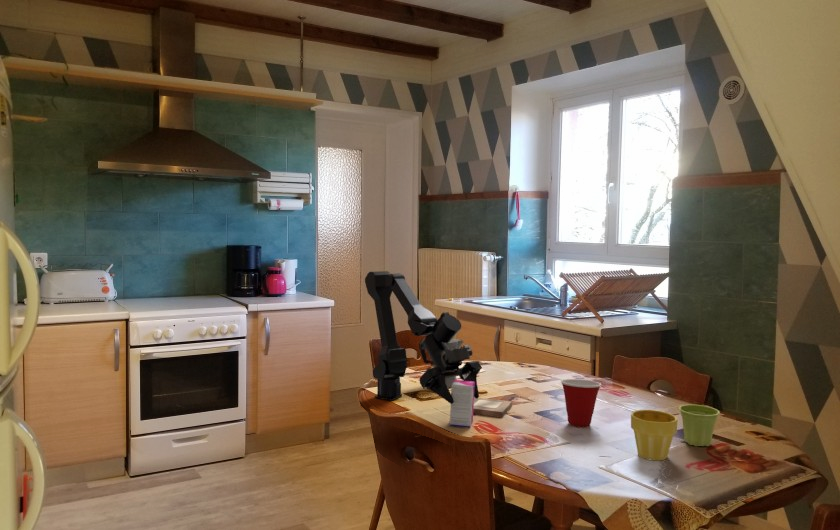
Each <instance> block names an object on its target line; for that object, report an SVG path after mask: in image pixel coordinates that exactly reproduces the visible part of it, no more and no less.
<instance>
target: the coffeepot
mask: <svg viewBox="0 0 840 530" xmlns="http://www.w3.org/2000/svg"><path fill="white" fill-rule="evenodd" d="M420 343H421V341H420V342H419V343H418V346H419V345H420ZM464 343H465V342H464V341H463V340H462V339H458V338H453V339H452V340H451V341H450V342H449V343H446V345H447V347H448V348H449V349H453V350H454V349H457V348H461V346H462V344H464ZM419 351H420V355H421V358H422V361H423V363H424V364H430V362H431V360H427V353H426V349H419ZM432 366H433V367H432V368H435V365H432ZM454 380H458V379H457V376H454V377H449V378H445V383H446V385H447V387H448V389H450V388H449V387H452V383H453V382H454Z"/></svg>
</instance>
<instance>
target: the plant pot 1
mask: <svg viewBox="0 0 840 530" xmlns="http://www.w3.org/2000/svg"><path fill="white" fill-rule="evenodd" d="M678 420H679V419H678V417H677V416H676V415H674V414H673V413H670V412H667V411H662V410H657V409H637V410H634V411H633V412H631V415H630V428H631V429H632V430H633V433H634V439H635V445H636V449H637V455H638V456H639V457H640V456H641V457H640V458H642V457H643V458H642V459H645V458H646V459H645V460H648V459H651V460H650V461H664V460H666V459H668V455H669V452H670V449H671V445H672V442H673V438H674V435H676V434H677V432H678Z"/></svg>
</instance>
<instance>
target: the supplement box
mask: <svg viewBox="0 0 840 530" xmlns="http://www.w3.org/2000/svg"><path fill="white" fill-rule="evenodd" d="M474 386H475V382H474V381H464V380H462V379H457V380H454V382H453V383H452V388H450V390H451V391H450V393H451V395H452V397H453V400H454V403H453V404H450V412H449V413H450V414H449V427H452V426H457V427H456V428H464V427H468V429H470V428H471V426H472V424H473V422H474V414H473V406H474Z"/></svg>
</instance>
